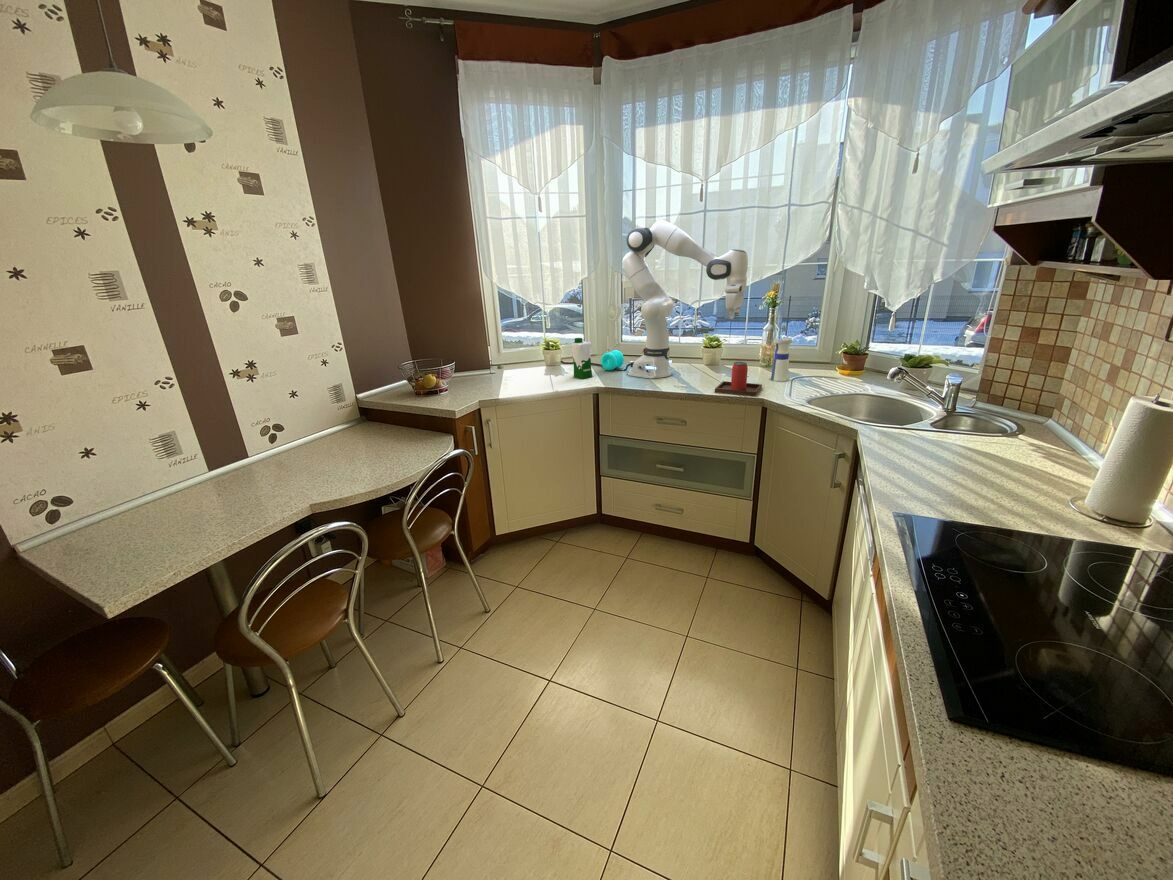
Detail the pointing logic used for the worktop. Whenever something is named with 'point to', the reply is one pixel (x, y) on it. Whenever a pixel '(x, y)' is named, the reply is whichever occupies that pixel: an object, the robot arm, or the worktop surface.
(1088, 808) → the worktop surface
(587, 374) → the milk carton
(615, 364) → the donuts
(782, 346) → the water bottle
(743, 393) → the tray
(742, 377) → the beer can
